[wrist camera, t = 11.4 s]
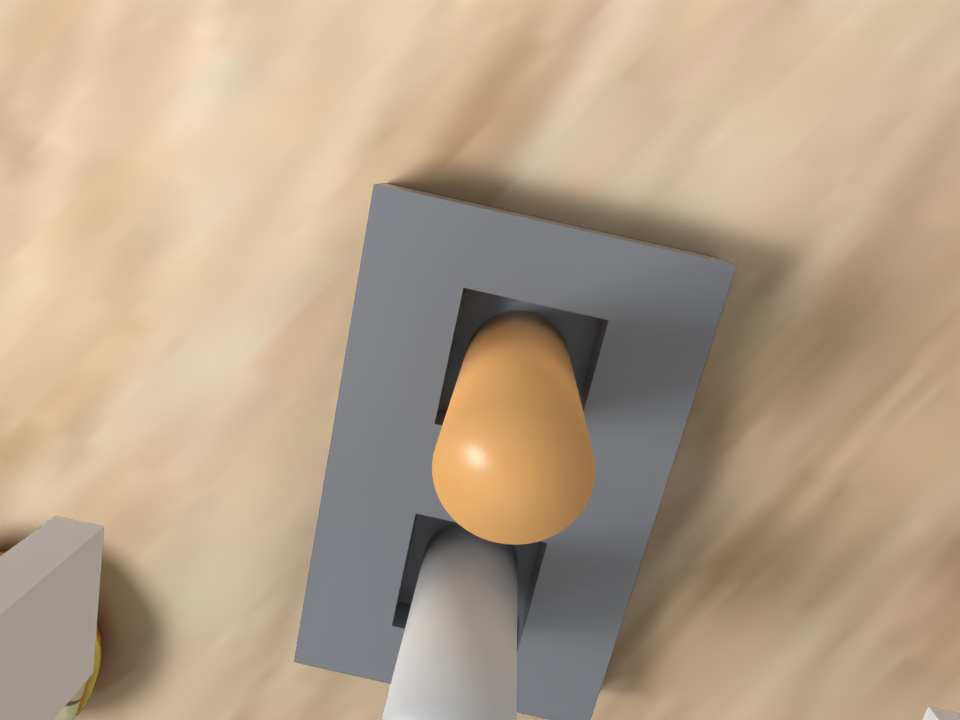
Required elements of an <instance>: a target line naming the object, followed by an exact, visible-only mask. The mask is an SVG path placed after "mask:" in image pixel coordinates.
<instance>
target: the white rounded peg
mask: <svg viewBox="0 0 960 720" xmlns="http://www.w3.org/2000/svg"><path fill="white" fill-rule="evenodd" d="M517 592H518V560H517V554H516V551H515V549H514V546H513V545H512V544H501V543H495V542H492V541H488V540H485V539H483V538H480V537H478V536H476V535H474V534H472V533H470V532H469V531H467V530H466V529H464V528H463V527H462V526H460V525H459V524H458V523H456V522H454V523H451V524H449V525H447V526H445V527H443V528H442V529H440V530H439V531H438V532H436V533H435V534H434V535H433V537H432V538H431V539H430V541H429V542H428V544H427V547H426V549H425V553H424V557H423V561H422V564H421V568H420V572H419V576H418V580H417V584H416V588H415V592H414V596H413V599H412V603H411V607H410V611H409V615H408V619H407V623H406V627H405V631H404V634H403V638H402V642H401V646H400V650H399V654H398V658H397V662H396V666H395V670H394V673H393V677H392V681H391V685H390V689H389V693H388V697H387V701H386V705H385V708H384V712H383V716H382V720H516V697H517Z"/></svg>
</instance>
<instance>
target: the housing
mask: <svg viewBox="0 0 960 720" xmlns="http://www.w3.org/2000/svg"><path fill="white" fill-rule="evenodd" d="M736 267H737V266H736V265H734V264H732V263H729V262H727V261H724V260H722V259H720V258H716V257H711V256H707V255H703V254H698V253H694V252H689V251H685V250H680V249H676V248H672V247H667V246H663V245H658V244H654V243H649V242H645V241H640V240H636V239H632V238H627V237H623V236H618V235H614V234H609V233H605V232H600V231H596V230H592V229H587V228H583V227H578V226H574V225H569V224H565V223H561V222H556V221H552V220H547V219H543V218H538V217H534V216H529V215H525V214H521V213H516V212H512V211H507V210H503V209H498V208H494V207H489V206H485V205H481V204H476V203H472V202H467V201H463V200H458V199H454V198H450V197H445V196H441V195H436V194H432V193H427V192H423V191H418V190H414V189H410V188H405V187H401V186H396V185H392V184H387V183H382V184H374V187H373V193H372V199H371V205H370V211H369V217H368V223H367V229H366V235H365V241H364V247H363V253H362V259H361V265H360V271H359V277H358V283H357V288H356V294H355V300H354V306H353V312H352V318H351V324H350V330H349V336H348V342H347V348H346V354H345V360H344V366H343V372H342V378H341V384H340V390H339V396H338V402H337V408H336V414H335V420H334V426H333V432H332V438H331V444H330V450H329V456H328V462H327V468H326V474H325V480H324V486H323V492H322V498H321V504H320V510H319V515H318V521H317V527H316V533H315V539H314V545H313V551H312V557H311V563H310V569H309V575H308V581H307V587H306V593H305V599H304V605H303V611H302V617H301V623H300V629H299V635H298V641H297V647H296V653H295V659H294V662H296V663H300V664H305V665H309V666H314V667H318V668H323V669H327V670H331V671H336V672H340V673H345V674H349V675H354V676H358V677H363V678H367V679H371V680H376V681H380V682H385V683H389V684H391V681H392V677H393V673H394V670H395V666H396V662H397V658H398V654H399V650H400V646H401V642H402V638H403V634H404V631H405V627H406V623H407V619H408V615H409V611H410V607H411V603H412V599H413V596H414V592H415V588H416V584H417V580H418V576H419V572H420V568H421V564H422V561H423V557H424V553H425V549H426V547H427V544H428V542H429V541H430V539H431V538H432V537H433V535H434V534H435V533H436V532H438V531H439V530H440V529H442V528H443V527H445V526H447V525H449V524H451V523H454V522H456V521H455V520H454V519H453V518H452V517H451V516H450V515H449V514H448V512H447V511H446V510H445V508H444V507H443V505H442V503H441V502H440V500H439V497H438V495H437V493H436V490H435V486H434V483H433V476H432V461H433V454H434V450H435V447H436V444H437V441H438V437H439V434H440V431H441V428H442V425H443V422H444V419H445V416H446V413H447V410H448V407H449V404H450V400H451V397H452V394H453V391H454V388H455V385H456V382H457V379H458V376H459V373H460V370H461V367H462V363H463V360H464V357H465V354H466V351H467V348H468V345H469V342H470V340H471V338H472V336H473V335H474V333H475V332H476V330H477V329H478V328H479V327H480V326H481V325H482V324H483V323H484V322H486V321H487V320H488V319H490V318H492V317H494V316H495V315H498V314H501V313H504V312H509V311H526V312H531V313H534V314H537V315H539V316H542V317H543V318H545V319H547V320H548V321H550V322H551V323H552V324H553V325H554V326H555V327H556V328H557V329H558V330H559V332H560V333H561V334H562V336H563V338H564V340H565V342H566V345H567V347H568V352H569V356H570V360H571V364H572V368H573V372H574V376H575V380H576V384H577V388H578V392H579V397H580V401H581V405H582V409H583V413H584V417H585V421H586V425H587V429H588V433H589V437H590V442H591V446H592V450H593V454H594V459H595V468H596V473H595V483H594V487H593V491H592V494H591V497H590V499H589V501H588V503H587V505H586V507H585V508H584V510H583V511H582V513H581V514H580V515H579V517H578V518H577V519H576V520H575V521H574V522H573V523H572V524H570V525H569V526H568V527H567V528H565V529H564V530H563V531H561V532H559V533H558V534H556V535H554V536H552V537H550V538H547V539H545V540H542V541H538V542H534V543H529V544H519V545H513V546H514V549H515V551H516V554H517V560H518V592H517V697H516V712H518V713H522V714H527V715H531V716H536V717H540V718H545V719H549V720H591V717H592V714H593V711H594V708H595V705H596V701H597V698H598V695H599V692H600V689H601V686H602V683H603V680H604V677H605V673H606V670H607V667H608V664H609V661H610V658H611V655H612V652H613V649H614V645H615V642H616V639H617V636H618V633H619V630H620V627H621V624H622V621H623V618H624V614H625V611H626V608H627V605H628V602H629V599H630V596H631V593H632V590H633V586H634V583H635V580H636V577H637V574H638V571H639V568H640V565H641V562H642V559H643V555H644V552H645V549H646V546H647V543H648V540H649V537H650V534H651V531H652V527H653V524H654V521H655V518H656V515H657V512H658V509H659V506H660V503H661V499H662V496H663V493H664V490H665V487H666V484H667V481H668V478H669V475H670V472H671V468H672V465H673V462H674V459H675V456H676V453H677V450H678V447H679V444H680V440H681V437H682V434H683V431H684V428H685V425H686V422H687V419H688V416H689V413H690V409H691V406H692V403H693V400H694V397H695V394H696V391H697V388H698V385H699V381H700V378H701V375H702V372H703V369H704V366H705V363H706V360H707V357H708V353H709V350H710V347H711V344H712V341H713V338H714V335H715V332H716V329H717V326H718V322H719V319H720V316H721V313H722V310H723V307H724V304H725V301H726V298H727V294H728V291H729V288H730V285H731V282H732V279H733V276H734V273H735V270H736ZM456 523H457V522H456Z"/></svg>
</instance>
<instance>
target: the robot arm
mask: <svg viewBox="0 0 960 720" xmlns="http://www.w3.org/2000/svg"><path fill="white" fill-rule="evenodd" d="M103 536H104V526H99V525H95V524H90V523H86V522H81V521H77V520H72V519H67V518H63V517H58V516H55V517H53V518H52V519H51V520H49V521H48V522H47V523H45V524H44V525H42V526H41V527H40V528H38V529H37V530H36V531H34V532H33V533H32V534H30V535H29V536H27V537H26V538H25V539H23V540H22V541H21V542H19V543H18V544H17V545H15V546H14V547H12V548H11V549H10V550H8V551H7V552H6V553H4V554H3V555H2V556H0V720H54V718H55V717H56V716H57V715H58V714H59V713H60V711H61V710H62V709H63V708H64V707H65V706H66V704H67V703H68V702H69V701H70V700H71V698H72V697H73V696H74V695H75V694H76V693H77V691H78V690H79V689H80V688H81V687H82V686H83V684H84V683H85V682H86V681H87V680H88V679H89V677H90V676H91V675H92V674H93V669H94V656H95V642H96V629H97V616H98V603H99V589H100V576H101V563H102V550H103ZM922 720H960V713H955V712H950V711H946V710H941V709H937V708H932V707H928V709H927V711H926V713H925V715H924V717H923V719H922Z"/></svg>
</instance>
